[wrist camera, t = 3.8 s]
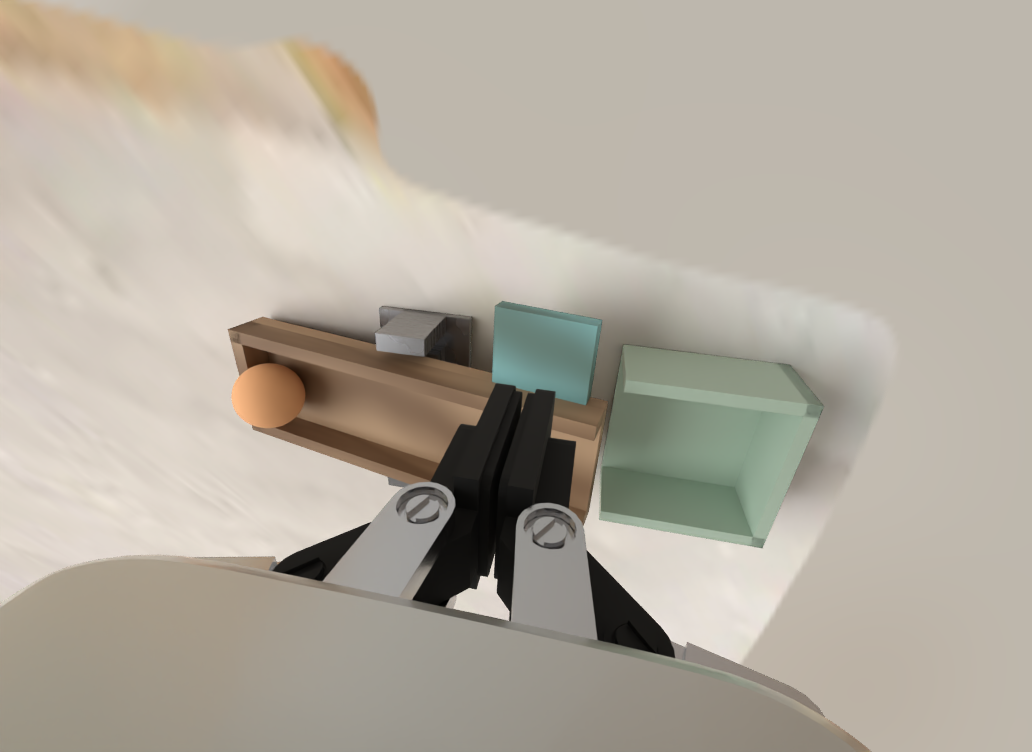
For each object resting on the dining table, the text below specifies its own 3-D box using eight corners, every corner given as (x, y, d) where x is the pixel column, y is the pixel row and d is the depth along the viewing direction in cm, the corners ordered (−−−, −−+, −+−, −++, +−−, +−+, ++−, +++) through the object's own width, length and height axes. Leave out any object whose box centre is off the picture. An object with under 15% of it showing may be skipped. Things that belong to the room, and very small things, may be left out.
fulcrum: (469, 456, 28) (452, 495, 25) (393, 444, 29) (367, 480, 26) (471, 316, 24) (451, 342, 21) (382, 305, 25) (349, 329, 22)
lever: (588, 511, 23) (576, 542, 21) (282, 412, 29) (253, 429, 27) (622, 323, 18) (610, 343, 16) (249, 253, 24) (210, 261, 22)
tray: (741, 493, 26) (762, 548, 22) (600, 471, 27) (599, 519, 24) (790, 364, 22) (823, 406, 19) (623, 344, 23) (626, 380, 20)
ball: (323, 413, 27) (279, 447, 24) (272, 401, 27) (224, 433, 24) (314, 358, 25) (266, 388, 22) (260, 348, 26) (207, 375, 23)
